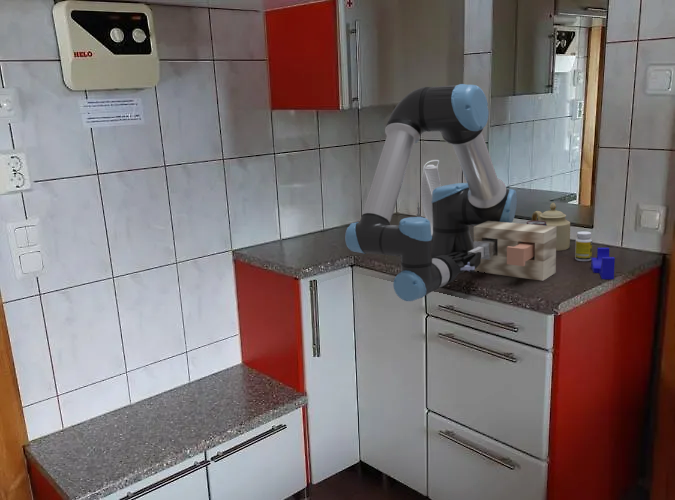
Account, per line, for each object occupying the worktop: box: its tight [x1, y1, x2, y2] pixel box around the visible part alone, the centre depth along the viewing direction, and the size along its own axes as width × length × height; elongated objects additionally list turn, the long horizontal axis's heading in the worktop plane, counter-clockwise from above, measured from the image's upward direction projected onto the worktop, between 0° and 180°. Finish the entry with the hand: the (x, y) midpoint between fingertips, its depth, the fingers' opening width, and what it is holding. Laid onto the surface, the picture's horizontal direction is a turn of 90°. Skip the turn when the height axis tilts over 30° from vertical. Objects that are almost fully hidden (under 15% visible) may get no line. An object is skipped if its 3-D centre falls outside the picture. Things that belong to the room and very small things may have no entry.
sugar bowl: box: [531, 202, 571, 252], centre depth 208 cm, size 15×11×15 cm
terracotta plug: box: [507, 242, 535, 266], centre depth 174 cm, size 5×12×5 cm, turn 140°
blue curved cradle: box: [590, 247, 616, 280], centre depth 177 cm, size 12×4×6 cm, turn 165°
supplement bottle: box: [574, 231, 593, 262], centre depth 190 cm, size 5×5×8 cm
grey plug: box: [473, 238, 498, 260], centre depth 183 cm, size 5×12×5 cm, turn 140°
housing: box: [473, 221, 557, 282], centre depth 182 cm, size 21×9×14 cm, turn 50°
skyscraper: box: [416, 159, 442, 235], centre depth 234 cm, size 8×8×28 cm
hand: (481, 251), depth 178 cm, fingers closed
